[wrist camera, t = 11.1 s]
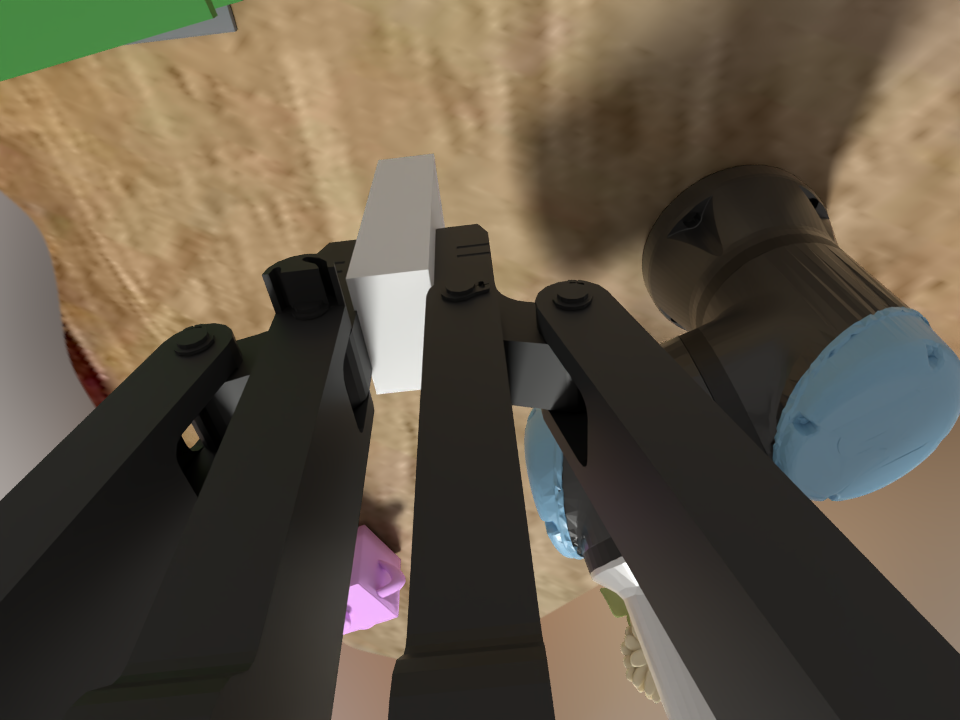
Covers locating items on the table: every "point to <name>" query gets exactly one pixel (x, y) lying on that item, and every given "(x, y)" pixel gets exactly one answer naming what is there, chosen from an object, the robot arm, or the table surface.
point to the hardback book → (86, 27)
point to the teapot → (372, 583)
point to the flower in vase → (632, 650)
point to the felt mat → (200, 27)
